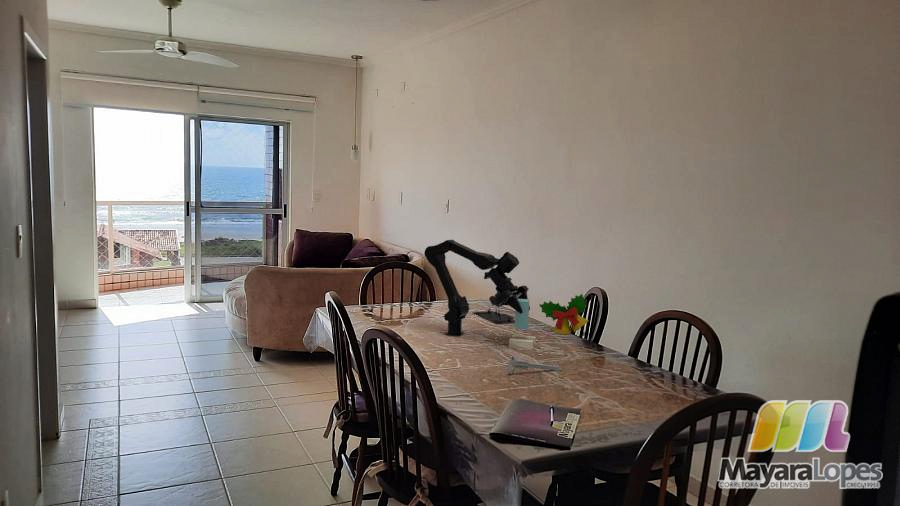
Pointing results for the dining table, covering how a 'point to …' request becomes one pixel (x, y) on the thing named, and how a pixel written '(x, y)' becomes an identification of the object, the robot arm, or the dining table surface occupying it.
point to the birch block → (522, 342)
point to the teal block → (522, 315)
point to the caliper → (528, 365)
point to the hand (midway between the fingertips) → (525, 311)
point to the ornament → (566, 314)
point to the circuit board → (495, 317)
